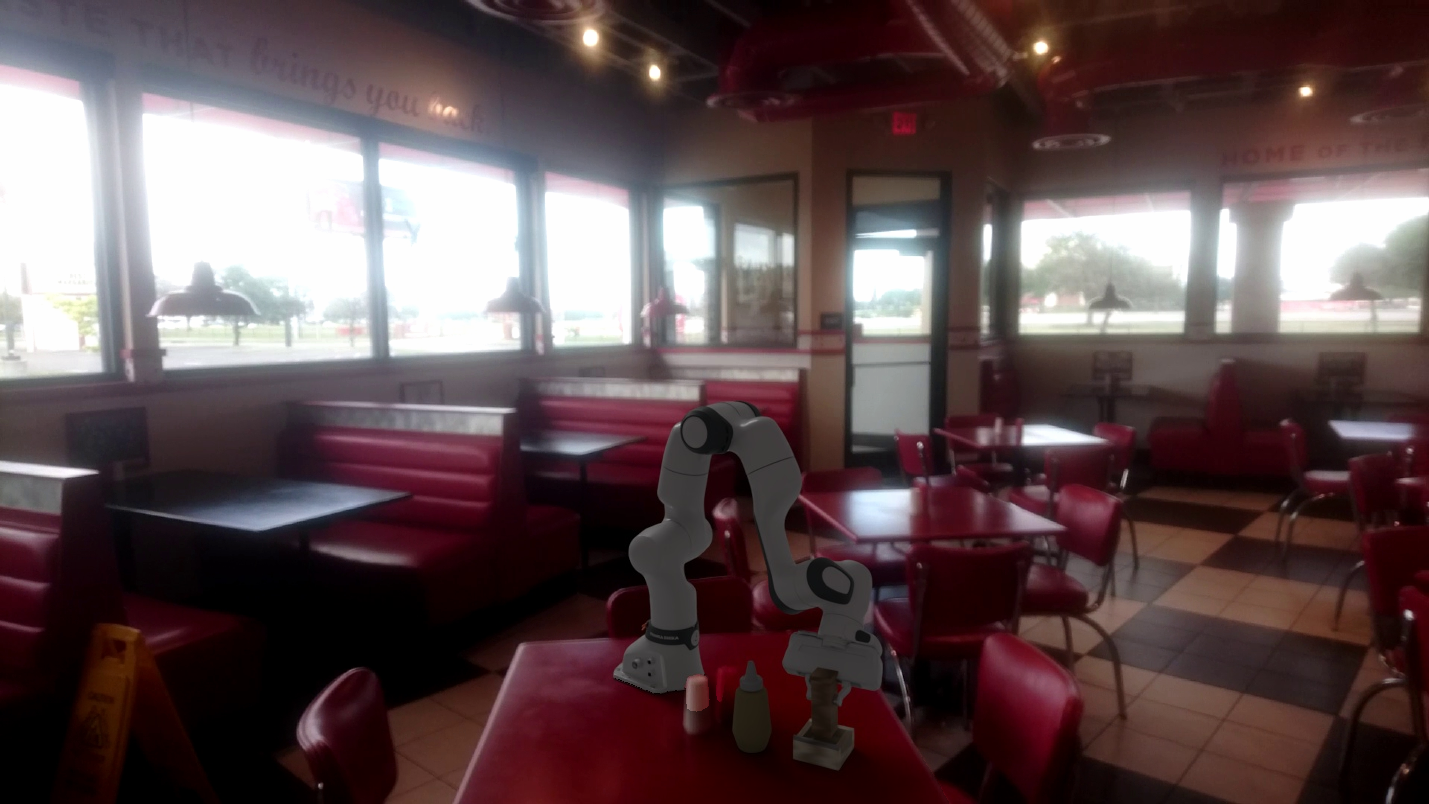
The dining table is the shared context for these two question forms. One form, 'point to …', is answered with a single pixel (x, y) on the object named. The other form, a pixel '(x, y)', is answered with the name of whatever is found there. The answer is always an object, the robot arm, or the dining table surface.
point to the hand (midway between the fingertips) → (823, 702)
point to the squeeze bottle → (751, 713)
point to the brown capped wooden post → (823, 702)
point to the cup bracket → (823, 746)
